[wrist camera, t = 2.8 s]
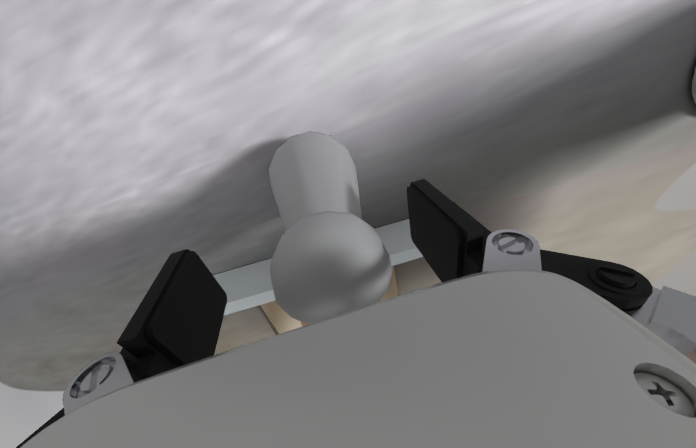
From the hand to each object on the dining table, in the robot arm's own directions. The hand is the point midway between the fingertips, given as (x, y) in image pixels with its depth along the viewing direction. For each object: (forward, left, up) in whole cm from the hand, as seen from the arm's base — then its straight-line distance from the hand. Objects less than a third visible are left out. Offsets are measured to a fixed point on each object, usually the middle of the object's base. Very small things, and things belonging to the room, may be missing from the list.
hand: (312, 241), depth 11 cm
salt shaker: (-1, 0, -10) cm, 10 cm away
